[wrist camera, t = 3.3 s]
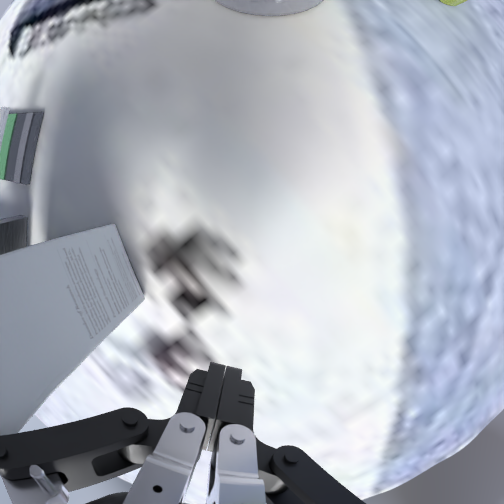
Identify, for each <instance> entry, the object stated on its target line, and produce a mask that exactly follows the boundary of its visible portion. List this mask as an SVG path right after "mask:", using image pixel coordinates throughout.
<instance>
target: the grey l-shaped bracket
mask: <svg viewBox="0 0 504 504" xmlns="http://www.w3.org/2000/svg"><path fill="white" fill-rule="evenodd" d="M9 111H10V108H9V107H1V109H0V150H1V145H2V140H3V135H4V130H5V126H6V122H7V118H8V114H9ZM26 239H27V217H25V216H22V215H19V216H14V217H10V218H5V219H1V220H0V255H2V254H6V253H9V252H12V251H15V250H18V249H21V248H25V247H26Z"/></svg>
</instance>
